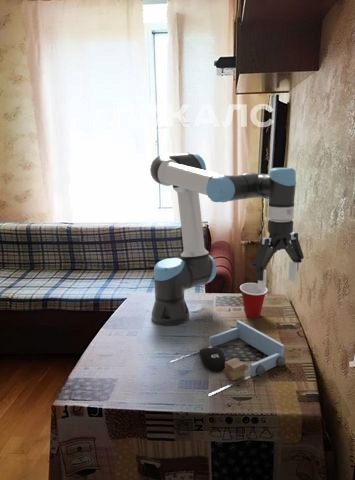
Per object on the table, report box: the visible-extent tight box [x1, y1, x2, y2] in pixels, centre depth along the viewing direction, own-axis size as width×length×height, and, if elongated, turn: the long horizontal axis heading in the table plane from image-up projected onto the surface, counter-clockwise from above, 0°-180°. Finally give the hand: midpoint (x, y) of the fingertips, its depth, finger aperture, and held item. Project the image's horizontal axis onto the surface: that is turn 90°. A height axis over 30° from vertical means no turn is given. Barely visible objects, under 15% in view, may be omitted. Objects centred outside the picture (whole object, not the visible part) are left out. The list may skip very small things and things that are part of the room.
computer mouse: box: [199, 345, 227, 373], centre depth 117 cm, size 8×12×4 cm, turn 8°
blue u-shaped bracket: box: [208, 319, 286, 378], centre depth 120 cm, size 23×13×6 cm, turn 32°
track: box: [169, 338, 279, 397], centre depth 117 cm, size 21×30×1 cm
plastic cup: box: [239, 282, 269, 319], centre depth 147 cm, size 11×11×12 cm
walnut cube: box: [224, 357, 245, 381], centre depth 110 cm, size 4×4×4 cm
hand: (277, 285), depth 118 cm, fingers open, 13 cm apart
